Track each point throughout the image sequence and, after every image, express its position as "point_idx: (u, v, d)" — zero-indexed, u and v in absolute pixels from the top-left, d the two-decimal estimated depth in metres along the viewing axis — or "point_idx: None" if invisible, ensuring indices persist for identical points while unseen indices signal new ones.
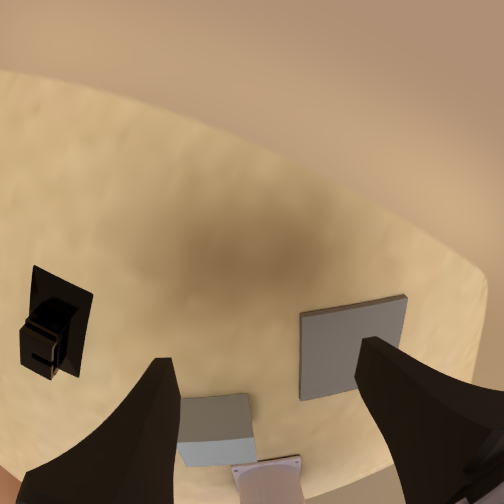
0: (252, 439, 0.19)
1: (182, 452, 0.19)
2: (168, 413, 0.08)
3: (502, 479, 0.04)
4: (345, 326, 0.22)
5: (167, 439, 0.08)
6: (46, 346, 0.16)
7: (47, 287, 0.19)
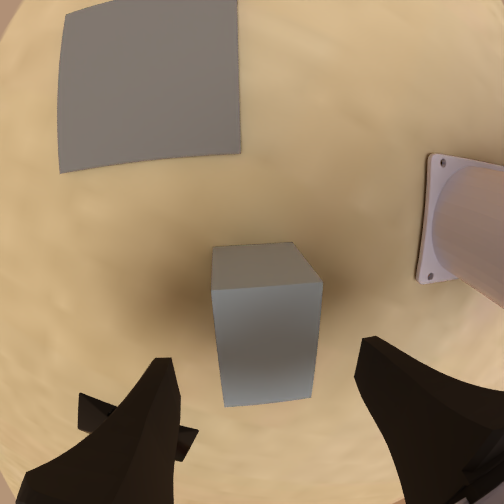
0: (220, 293, 0.10)
1: (257, 400, 0.12)
2: (168, 413, 0.08)
3: (502, 479, 0.04)
4: (82, 99, 0.11)
5: (167, 439, 0.08)
6: None
7: (89, 425, 0.18)
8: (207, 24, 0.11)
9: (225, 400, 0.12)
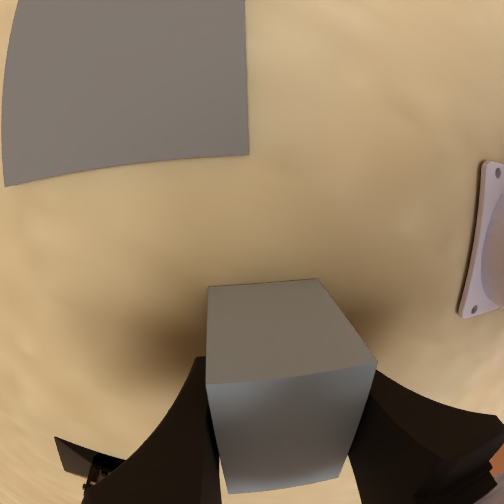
0: (220, 387, 0.06)
1: (270, 487, 0.08)
2: None
3: None
4: (31, 86, 0.07)
5: (215, 438, 0.08)
6: None
7: (75, 469, 0.14)
8: None
9: (229, 489, 0.08)
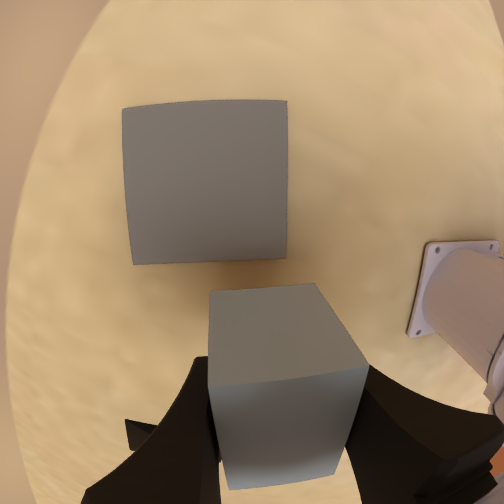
0: (221, 389, 0.07)
1: (269, 483, 0.08)
2: None
3: None
4: (151, 204, 0.16)
5: (215, 438, 0.08)
6: None
7: (139, 445, 0.23)
8: (262, 144, 0.15)
9: (230, 485, 0.08)
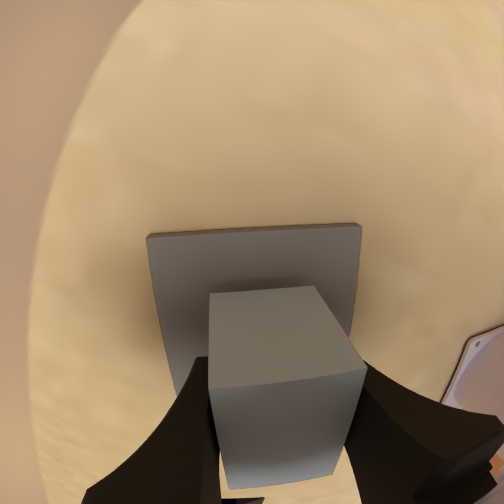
0: (221, 391, 0.07)
1: (268, 483, 0.09)
2: None
3: None
4: (197, 350, 0.13)
5: (215, 438, 0.08)
6: None
7: None
8: (329, 282, 0.13)
9: (230, 484, 0.08)
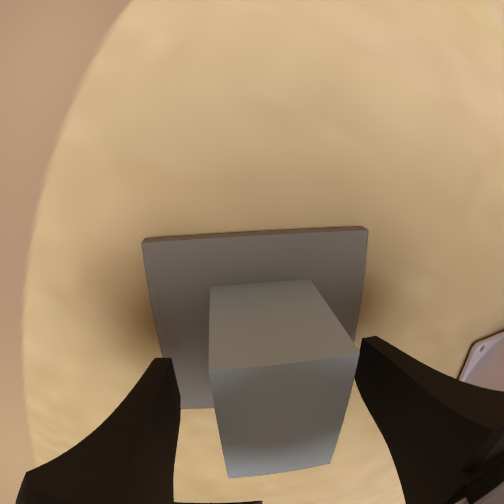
0: (221, 373, 0.07)
1: (267, 471, 0.09)
2: (168, 413, 0.08)
3: (502, 479, 0.04)
4: (196, 358, 0.13)
5: (167, 439, 0.08)
6: None
7: None
8: (334, 288, 0.12)
9: (229, 472, 0.09)
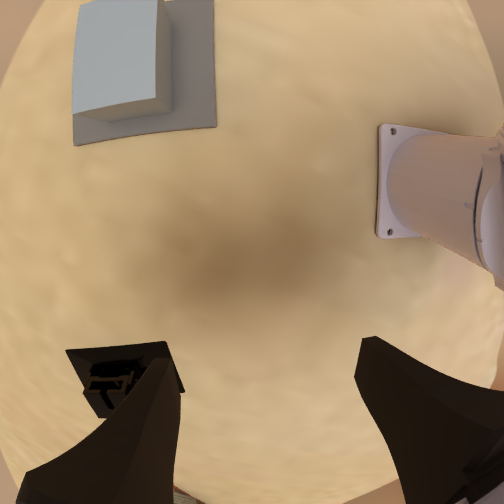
0: (85, 5, 0.09)
1: (100, 101, 0.11)
2: (168, 413, 0.08)
3: (502, 479, 0.04)
4: None
5: (167, 439, 0.08)
6: (87, 397, 0.17)
7: None
8: (190, 29, 0.14)
9: (73, 104, 0.10)
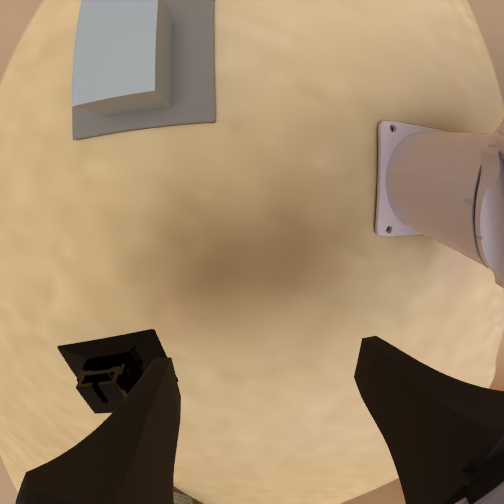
0: None
1: (100, 93, 0.10)
2: (168, 413, 0.08)
3: (502, 479, 0.04)
4: None
5: (167, 439, 0.08)
6: (80, 391, 0.17)
7: None
8: (191, 24, 0.14)
9: (73, 96, 0.10)
